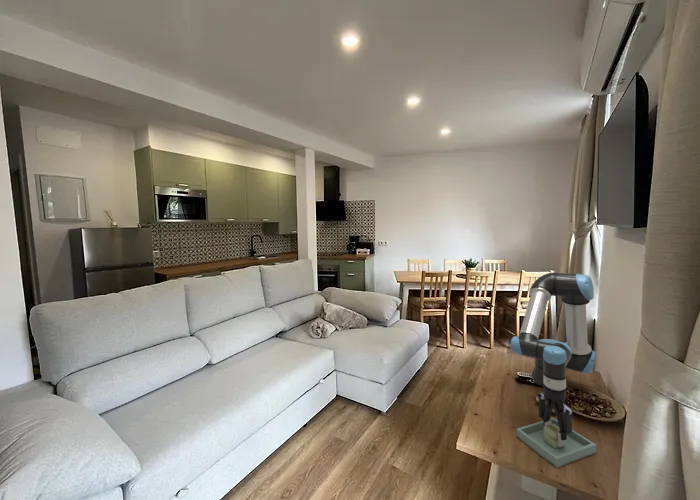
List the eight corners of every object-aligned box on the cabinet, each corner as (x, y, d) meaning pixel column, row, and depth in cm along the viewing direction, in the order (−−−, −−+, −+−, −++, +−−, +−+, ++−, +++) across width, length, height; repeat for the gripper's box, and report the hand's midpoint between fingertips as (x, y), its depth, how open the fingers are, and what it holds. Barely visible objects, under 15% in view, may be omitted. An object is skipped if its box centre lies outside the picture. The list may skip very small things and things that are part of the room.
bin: (552, 425, 136) (552, 417, 136) (596, 453, 119) (596, 444, 119) (516, 436, 130) (516, 428, 130) (556, 467, 113) (556, 458, 113)
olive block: (552, 437, 128) (553, 423, 127) (564, 445, 123) (564, 430, 122) (543, 440, 126) (543, 426, 126) (555, 448, 121) (555, 433, 121)
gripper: (527, 377, 130) (528, 430, 132) (569, 400, 113) (569, 460, 115) (541, 374, 132) (541, 425, 134) (584, 395, 115) (584, 454, 117)
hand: (554, 441), depth 125 cm, fingers closed on olive block, 5 cm apart
